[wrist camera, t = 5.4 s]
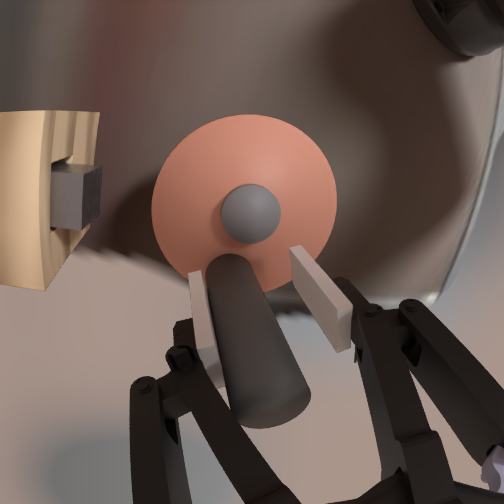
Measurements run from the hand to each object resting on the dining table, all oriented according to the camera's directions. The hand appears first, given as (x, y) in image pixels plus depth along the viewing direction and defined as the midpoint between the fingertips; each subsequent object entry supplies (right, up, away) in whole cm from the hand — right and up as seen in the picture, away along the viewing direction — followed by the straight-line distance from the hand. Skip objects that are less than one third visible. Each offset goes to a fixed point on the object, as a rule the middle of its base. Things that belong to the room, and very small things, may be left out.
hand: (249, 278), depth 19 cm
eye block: (-16, +9, +4) cm, 19 cm away
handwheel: (0, +5, +2) cm, 5 cm away
